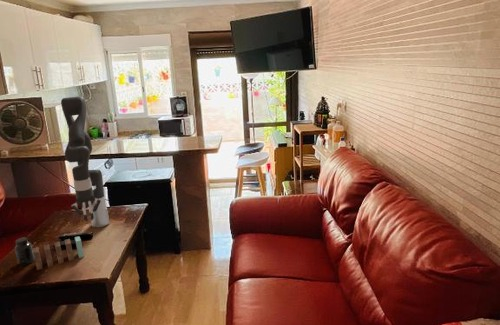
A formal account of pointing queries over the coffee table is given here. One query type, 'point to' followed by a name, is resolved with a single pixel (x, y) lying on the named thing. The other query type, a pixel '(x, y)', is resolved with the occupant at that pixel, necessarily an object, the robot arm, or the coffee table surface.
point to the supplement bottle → (24, 251)
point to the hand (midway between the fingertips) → (89, 220)
